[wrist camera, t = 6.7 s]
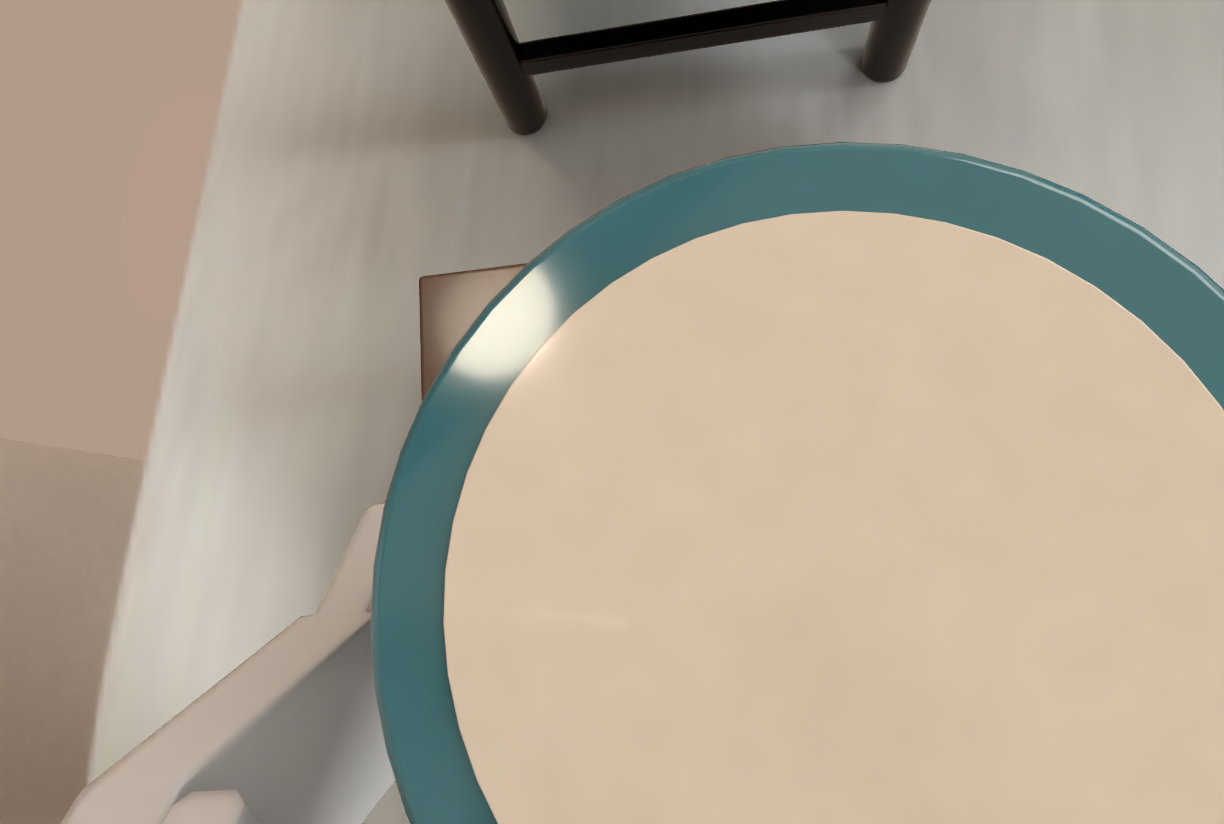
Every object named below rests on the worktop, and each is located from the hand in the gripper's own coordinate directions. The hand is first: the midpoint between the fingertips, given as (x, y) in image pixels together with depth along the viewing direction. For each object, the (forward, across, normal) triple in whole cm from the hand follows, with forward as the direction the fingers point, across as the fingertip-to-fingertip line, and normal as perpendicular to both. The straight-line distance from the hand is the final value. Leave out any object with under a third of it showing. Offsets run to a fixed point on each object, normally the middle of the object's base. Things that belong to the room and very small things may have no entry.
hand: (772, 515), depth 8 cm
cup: (+3, 0, +4) cm, 5 cm away
